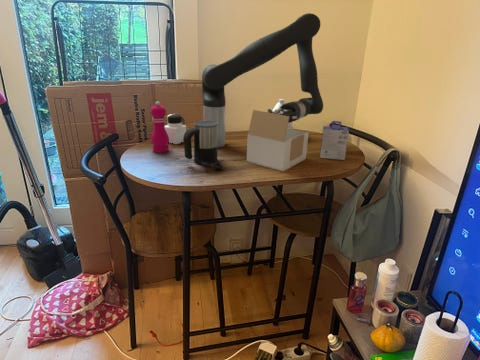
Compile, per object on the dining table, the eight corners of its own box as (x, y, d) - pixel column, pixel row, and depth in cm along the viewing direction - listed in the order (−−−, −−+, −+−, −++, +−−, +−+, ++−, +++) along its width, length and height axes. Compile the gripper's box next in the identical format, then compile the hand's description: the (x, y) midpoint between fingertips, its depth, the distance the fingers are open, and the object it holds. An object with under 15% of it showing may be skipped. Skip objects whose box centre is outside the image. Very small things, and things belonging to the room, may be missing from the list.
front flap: (283, 142, 122) (283, 141, 122) (248, 134, 130) (248, 134, 130) (289, 116, 121) (289, 116, 121) (253, 110, 129) (253, 109, 129)
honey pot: (293, 141, 163) (297, 101, 155) (266, 140, 163) (268, 100, 156) (290, 133, 174) (293, 96, 167) (264, 132, 174) (266, 95, 167)
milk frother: (203, 155, 141) (203, 118, 135) (237, 163, 133) (238, 125, 127) (180, 165, 130) (178, 126, 124) (215, 175, 122) (215, 133, 116)
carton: (283, 172, 126) (286, 142, 122) (245, 161, 135) (246, 133, 131) (307, 158, 140) (310, 132, 135) (271, 150, 149) (272, 124, 145)
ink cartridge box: (344, 156, 144) (349, 121, 139) (345, 160, 139) (350, 124, 134) (319, 154, 146) (324, 119, 140) (319, 158, 141) (324, 122, 135)
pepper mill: (154, 153, 141) (150, 103, 133) (149, 148, 147) (146, 100, 139) (171, 151, 144) (169, 102, 136) (166, 146, 150) (164, 99, 142)
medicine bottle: (186, 141, 158) (186, 114, 153) (176, 144, 153) (174, 117, 148) (175, 138, 162) (173, 112, 157) (164, 141, 156) (162, 115, 151)
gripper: (278, 99, 140) (254, 105, 127) (308, 104, 133) (287, 110, 120) (277, 118, 143) (253, 125, 130) (306, 123, 136) (285, 132, 123)
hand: (269, 118), depth 125 cm, fingers closed
